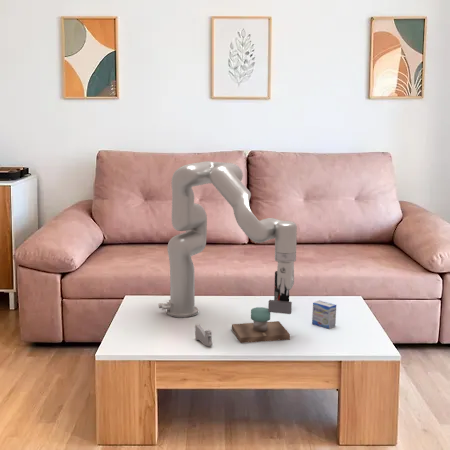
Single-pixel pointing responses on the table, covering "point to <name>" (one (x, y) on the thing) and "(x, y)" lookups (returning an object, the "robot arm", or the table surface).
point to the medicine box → (324, 314)
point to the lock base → (260, 332)
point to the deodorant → (276, 289)
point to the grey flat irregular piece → (203, 335)
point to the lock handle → (271, 310)
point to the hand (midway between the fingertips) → (284, 305)
